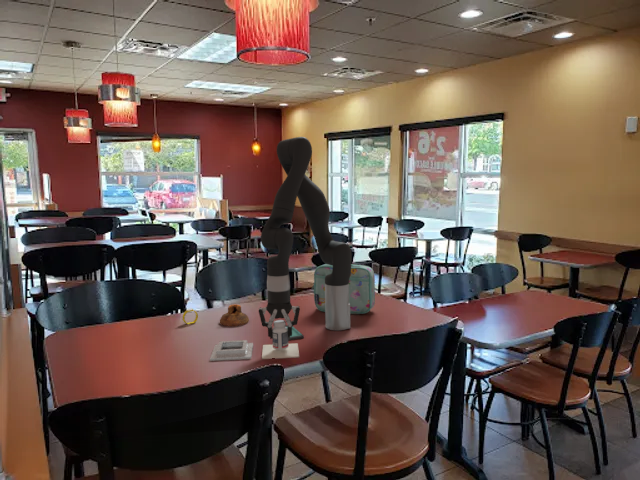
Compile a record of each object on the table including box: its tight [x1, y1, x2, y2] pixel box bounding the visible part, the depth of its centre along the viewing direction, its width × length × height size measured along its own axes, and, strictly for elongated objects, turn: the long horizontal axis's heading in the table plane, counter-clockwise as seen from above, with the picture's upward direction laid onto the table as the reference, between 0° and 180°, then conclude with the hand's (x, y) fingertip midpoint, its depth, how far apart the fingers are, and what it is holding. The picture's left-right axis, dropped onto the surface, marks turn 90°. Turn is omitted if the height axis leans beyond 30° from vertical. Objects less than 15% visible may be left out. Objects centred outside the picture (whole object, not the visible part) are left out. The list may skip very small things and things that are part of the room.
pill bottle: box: [271, 319, 289, 350], centre depth 161 cm, size 5×5×9 cm
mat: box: [261, 342, 300, 360], centre depth 162 cm, size 12×12×1 cm
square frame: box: [209, 339, 254, 362], centre depth 162 cm, size 13×13×2 cm
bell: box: [219, 303, 250, 328], centre depth 195 cm, size 12×12×7 cm
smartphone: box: [285, 324, 305, 342], centre depth 180 cm, size 7×1×15 cm
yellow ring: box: [182, 307, 199, 325], centre depth 194 cm, size 6×3×6 cm, turn 127°
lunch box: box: [311, 263, 376, 315], centre depth 206 cm, size 27×10×21 cm, turn 73°
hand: (280, 337), depth 161 cm, fingers closed on pill bottle, 5 cm apart
